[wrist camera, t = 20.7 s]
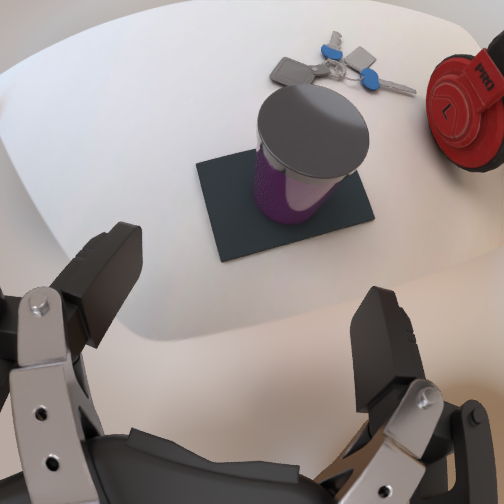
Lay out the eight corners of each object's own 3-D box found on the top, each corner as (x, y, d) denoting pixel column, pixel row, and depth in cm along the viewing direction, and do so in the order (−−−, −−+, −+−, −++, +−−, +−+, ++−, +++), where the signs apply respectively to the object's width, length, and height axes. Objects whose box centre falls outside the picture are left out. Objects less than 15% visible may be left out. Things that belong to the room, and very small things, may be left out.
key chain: (274, 96, 21) (275, 90, 20) (254, 36, 22) (254, 30, 21) (415, 97, 22) (418, 92, 21) (381, 40, 23) (384, 35, 22)
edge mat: (221, 262, 19) (221, 261, 19) (196, 165, 20) (195, 163, 20) (373, 220, 20) (375, 218, 20) (339, 135, 21) (340, 132, 20)
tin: (262, 235, 19) (278, 190, 11) (241, 166, 20) (243, 91, 12) (333, 215, 19) (386, 167, 12) (309, 151, 20) (342, 79, 12)
